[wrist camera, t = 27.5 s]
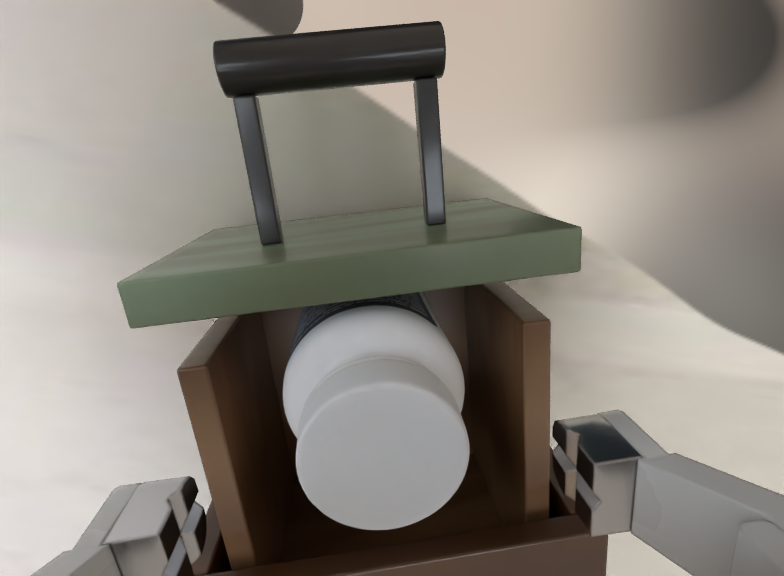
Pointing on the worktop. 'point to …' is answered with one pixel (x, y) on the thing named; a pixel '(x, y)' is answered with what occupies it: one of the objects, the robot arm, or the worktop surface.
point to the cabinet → (446, 551)
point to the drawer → (347, 283)
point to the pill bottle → (376, 411)
